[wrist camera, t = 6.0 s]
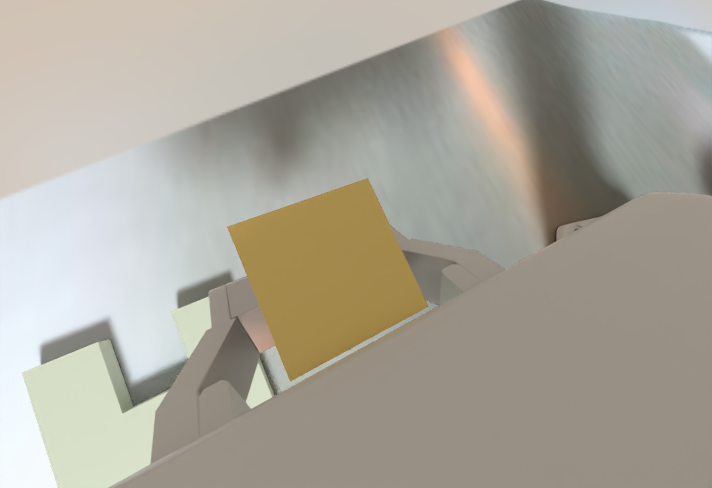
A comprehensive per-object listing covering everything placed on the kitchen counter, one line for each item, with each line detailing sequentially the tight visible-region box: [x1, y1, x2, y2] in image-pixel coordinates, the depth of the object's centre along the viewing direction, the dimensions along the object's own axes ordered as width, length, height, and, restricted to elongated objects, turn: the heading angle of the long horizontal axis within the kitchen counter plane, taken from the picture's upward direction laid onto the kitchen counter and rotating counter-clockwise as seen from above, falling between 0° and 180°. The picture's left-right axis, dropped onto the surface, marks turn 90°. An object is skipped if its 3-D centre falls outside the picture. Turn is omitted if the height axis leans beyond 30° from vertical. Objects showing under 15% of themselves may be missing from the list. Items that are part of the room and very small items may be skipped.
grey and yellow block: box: [227, 178, 428, 381], centre depth 10 cm, size 3×3×9 cm
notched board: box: [22, 296, 275, 488], centre depth 21 cm, size 14×12×2 cm
